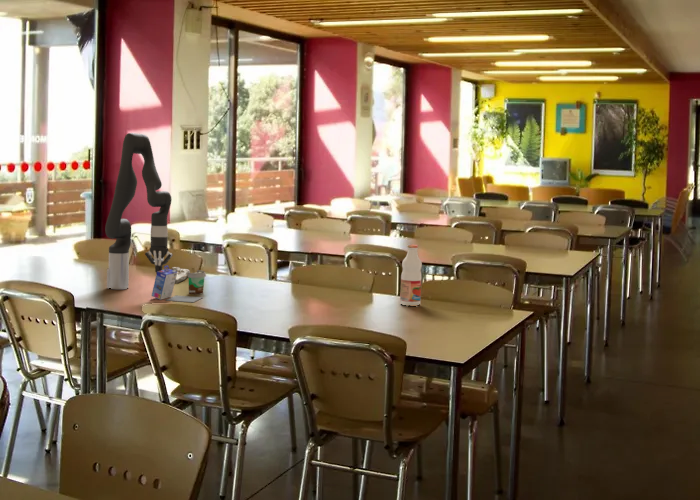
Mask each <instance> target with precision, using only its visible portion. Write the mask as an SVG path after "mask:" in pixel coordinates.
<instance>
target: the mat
mask: <svg viewBox="0 0 700 500" xmlns="http://www.w3.org/2000/svg"><path fill="white" fill-rule="evenodd" d="M203 298H204V297H203V296H191V295H190V296H189V295H174V296H171V297H168V298H166V299H165V301H166V302H178V303H179V302H180V303H196V302H197V301H199V300H202V299H203Z"/></svg>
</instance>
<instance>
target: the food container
mask: <svg viewBox="0 0 700 500" xmlns="http://www.w3.org/2000/svg"><path fill="white" fill-rule="evenodd" d="M205 277H207V273H206V272H205V271H204V270H202V269H201V270H200V269H196V271H195V272H190V273H188V277H187V278H188V294H189V295H200V294H203V293H204V285H205Z"/></svg>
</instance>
